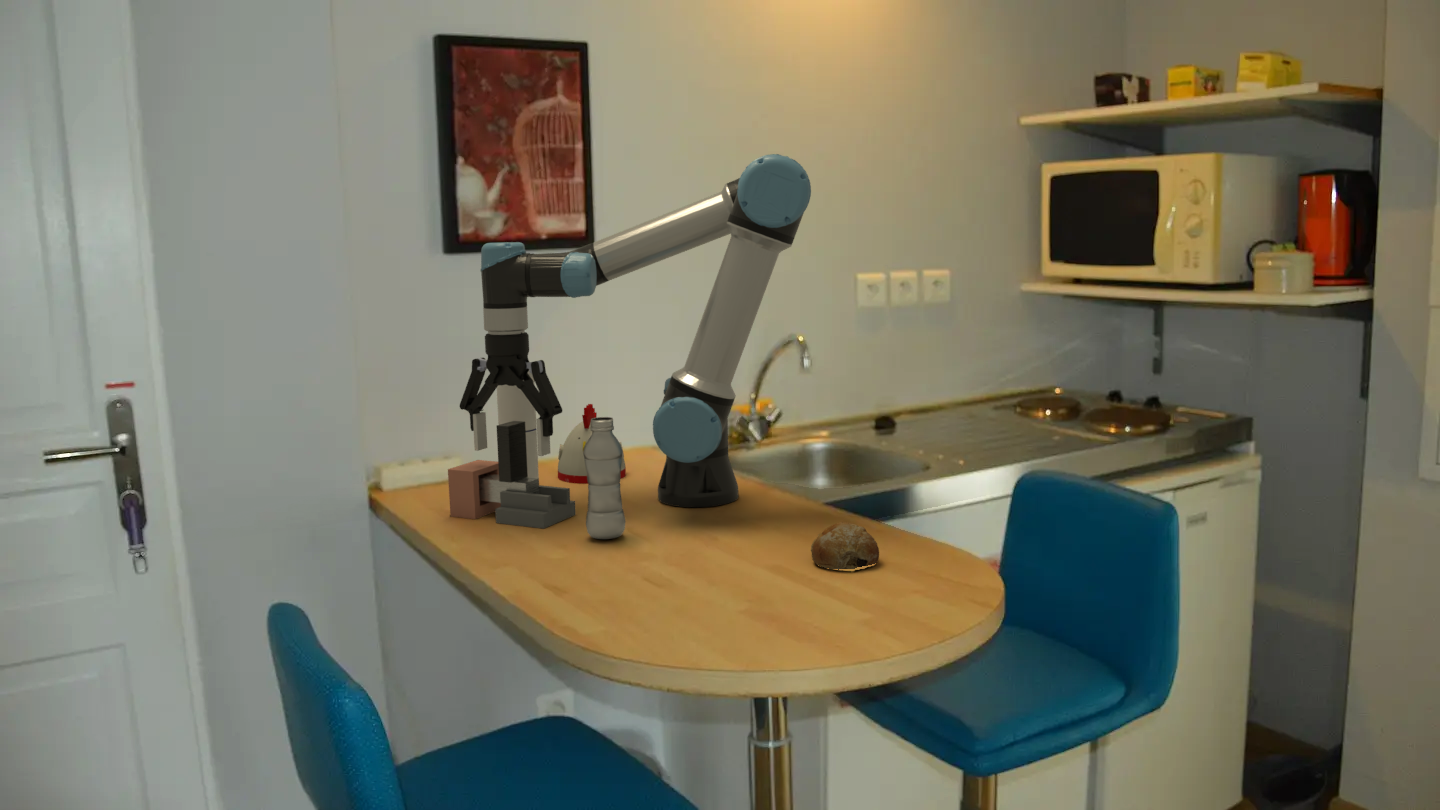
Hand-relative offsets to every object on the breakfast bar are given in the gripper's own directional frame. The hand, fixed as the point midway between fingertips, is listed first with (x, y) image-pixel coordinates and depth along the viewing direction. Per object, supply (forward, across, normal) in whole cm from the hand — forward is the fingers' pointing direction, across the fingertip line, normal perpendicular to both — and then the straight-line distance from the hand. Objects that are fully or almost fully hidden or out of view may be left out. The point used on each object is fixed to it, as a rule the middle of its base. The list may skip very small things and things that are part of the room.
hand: (512, 452), depth 199 cm
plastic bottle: (+12, -22, +6) cm, 26 cm away
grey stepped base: (+12, -4, 0) cm, 13 cm away
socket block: (+12, +8, 0) cm, 14 cm away
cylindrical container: (+12, +10, -15) cm, 21 cm away
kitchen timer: (+12, +4, -33) cm, 35 cm away
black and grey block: (+9, +2, 0) cm, 9 cm away
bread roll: (+12, -63, +4) cm, 64 cm away
